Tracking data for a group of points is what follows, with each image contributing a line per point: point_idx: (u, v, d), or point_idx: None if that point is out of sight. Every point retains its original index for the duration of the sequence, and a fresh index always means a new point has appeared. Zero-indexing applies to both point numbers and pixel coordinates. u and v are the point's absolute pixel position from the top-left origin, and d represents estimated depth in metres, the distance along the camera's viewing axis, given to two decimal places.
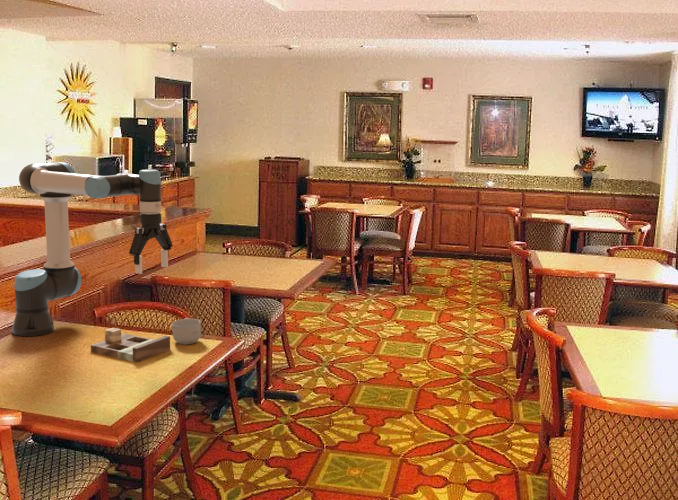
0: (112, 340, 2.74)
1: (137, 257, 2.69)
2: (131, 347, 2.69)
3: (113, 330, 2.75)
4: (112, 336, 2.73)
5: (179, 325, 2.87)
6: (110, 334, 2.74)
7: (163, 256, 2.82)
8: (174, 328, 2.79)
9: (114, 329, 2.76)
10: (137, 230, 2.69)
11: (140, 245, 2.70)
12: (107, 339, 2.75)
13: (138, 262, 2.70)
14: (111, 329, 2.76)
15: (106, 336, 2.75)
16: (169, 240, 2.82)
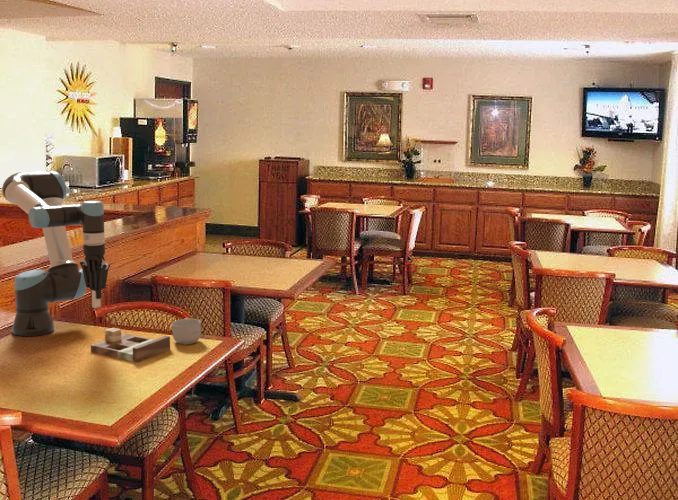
0: (112, 340, 2.74)
1: (91, 290, 2.77)
2: (131, 347, 2.69)
3: (113, 330, 2.75)
4: (112, 336, 2.73)
5: (179, 325, 2.87)
6: (110, 334, 2.74)
7: None
8: (174, 328, 2.79)
9: (114, 329, 2.76)
10: None
11: None
12: (107, 339, 2.75)
13: None
14: (111, 329, 2.76)
15: (106, 336, 2.75)
16: (100, 281, 2.73)
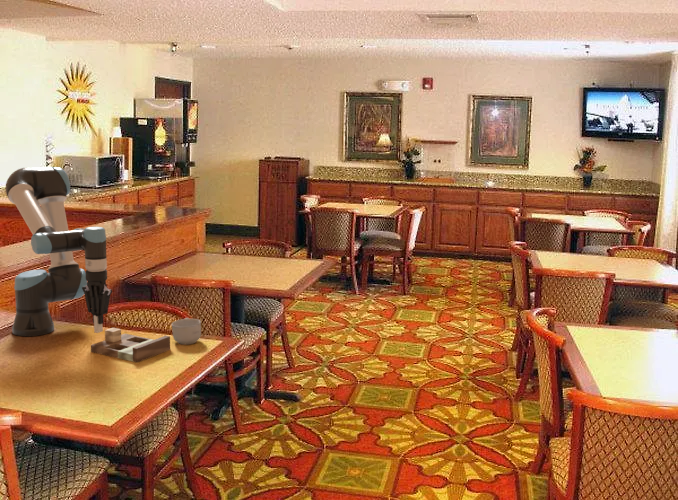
0: (112, 340, 2.74)
1: (93, 316, 2.78)
2: (131, 347, 2.69)
3: (113, 330, 2.75)
4: (112, 336, 2.73)
5: (179, 325, 2.87)
6: (110, 334, 2.74)
7: None
8: (174, 328, 2.79)
9: (114, 329, 2.76)
10: None
11: None
12: (107, 339, 2.75)
13: None
14: (111, 329, 2.76)
15: (106, 336, 2.75)
16: (102, 307, 2.75)
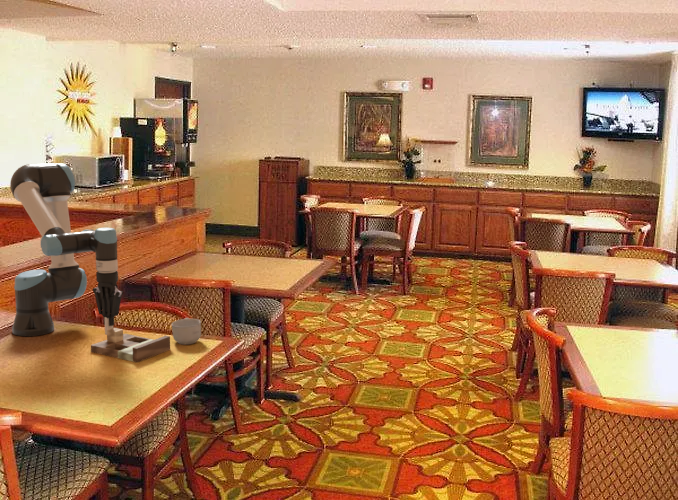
0: (114, 340, 2.73)
1: (104, 317, 2.76)
2: (131, 347, 2.69)
3: (115, 330, 2.74)
4: (114, 337, 2.73)
5: (179, 325, 2.87)
6: (112, 334, 2.73)
7: None
8: (174, 328, 2.79)
9: (116, 330, 2.75)
10: None
11: None
12: (109, 339, 2.74)
13: (105, 322, 2.76)
14: (113, 329, 2.75)
15: (108, 336, 2.74)
16: (113, 309, 2.72)
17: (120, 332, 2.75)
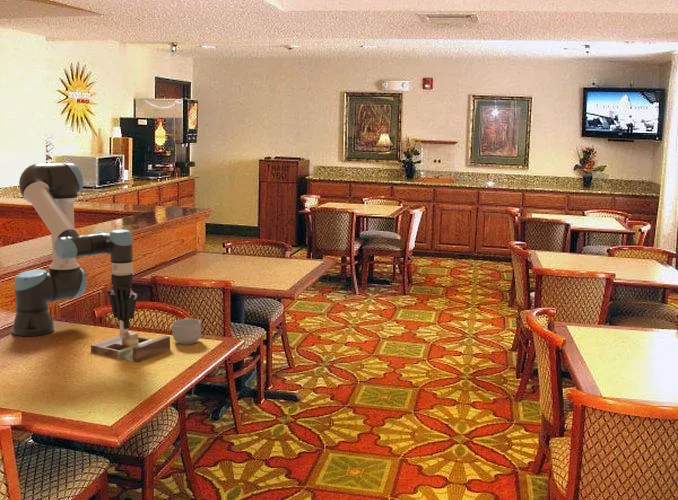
0: (129, 344, 2.70)
1: None
2: (131, 347, 2.69)
3: (130, 334, 2.71)
4: (130, 340, 2.70)
5: (179, 325, 2.87)
6: (127, 337, 2.70)
7: None
8: (174, 328, 2.79)
9: (131, 333, 2.72)
10: None
11: None
12: (124, 343, 2.71)
13: (119, 326, 2.72)
14: (128, 332, 2.72)
15: (123, 339, 2.71)
16: (128, 311, 2.69)
17: (135, 335, 2.72)
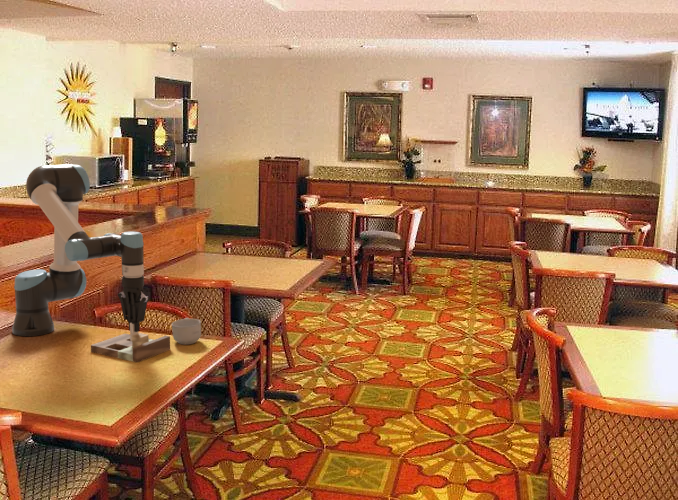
0: None
1: (129, 323, 2.70)
2: (131, 347, 2.69)
3: (140, 336, 2.69)
4: (140, 342, 2.67)
5: (179, 325, 2.87)
6: (137, 339, 2.68)
7: None
8: (174, 328, 2.79)
9: (141, 335, 2.70)
10: None
11: None
12: (134, 345, 2.69)
13: None
14: (138, 335, 2.70)
15: (134, 341, 2.69)
16: (139, 314, 2.67)
17: (145, 337, 2.70)
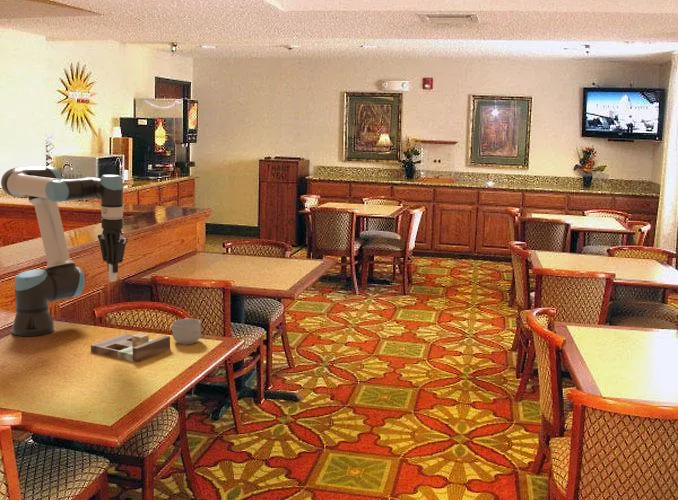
0: None
1: (108, 264, 2.77)
2: (131, 347, 2.69)
3: (140, 336, 2.69)
4: (140, 342, 2.67)
5: (179, 325, 2.87)
6: (137, 339, 2.68)
7: None
8: (174, 328, 2.79)
9: (141, 335, 2.70)
10: None
11: None
12: (134, 345, 2.69)
13: (108, 269, 2.78)
14: (138, 335, 2.70)
15: (134, 341, 2.69)
16: (117, 255, 2.74)
17: (145, 337, 2.70)
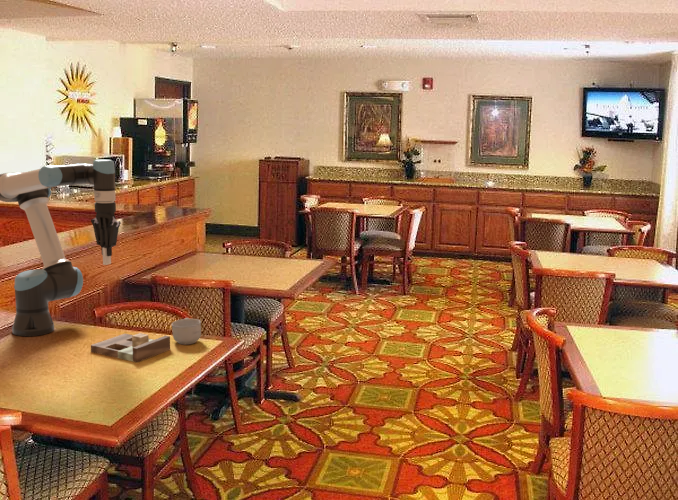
0: None
1: None
2: (131, 347, 2.69)
3: (140, 336, 2.69)
4: (140, 342, 2.67)
5: (179, 325, 2.87)
6: (137, 339, 2.68)
7: None
8: (174, 328, 2.79)
9: (141, 335, 2.70)
10: None
11: None
12: (134, 345, 2.69)
13: (102, 253, 2.82)
14: (138, 335, 2.70)
15: (134, 341, 2.69)
16: (111, 239, 2.79)
17: (145, 337, 2.70)
